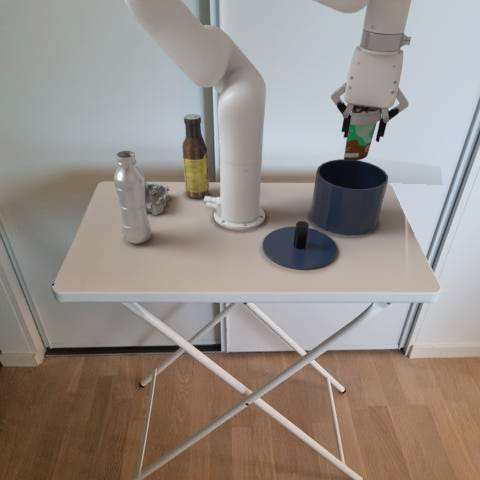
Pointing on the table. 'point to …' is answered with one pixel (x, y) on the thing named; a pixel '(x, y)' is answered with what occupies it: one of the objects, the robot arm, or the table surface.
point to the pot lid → (299, 247)
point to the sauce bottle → (195, 158)
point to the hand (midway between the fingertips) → (361, 136)
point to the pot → (348, 196)
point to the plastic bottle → (132, 198)
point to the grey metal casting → (155, 198)
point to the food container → (361, 132)
